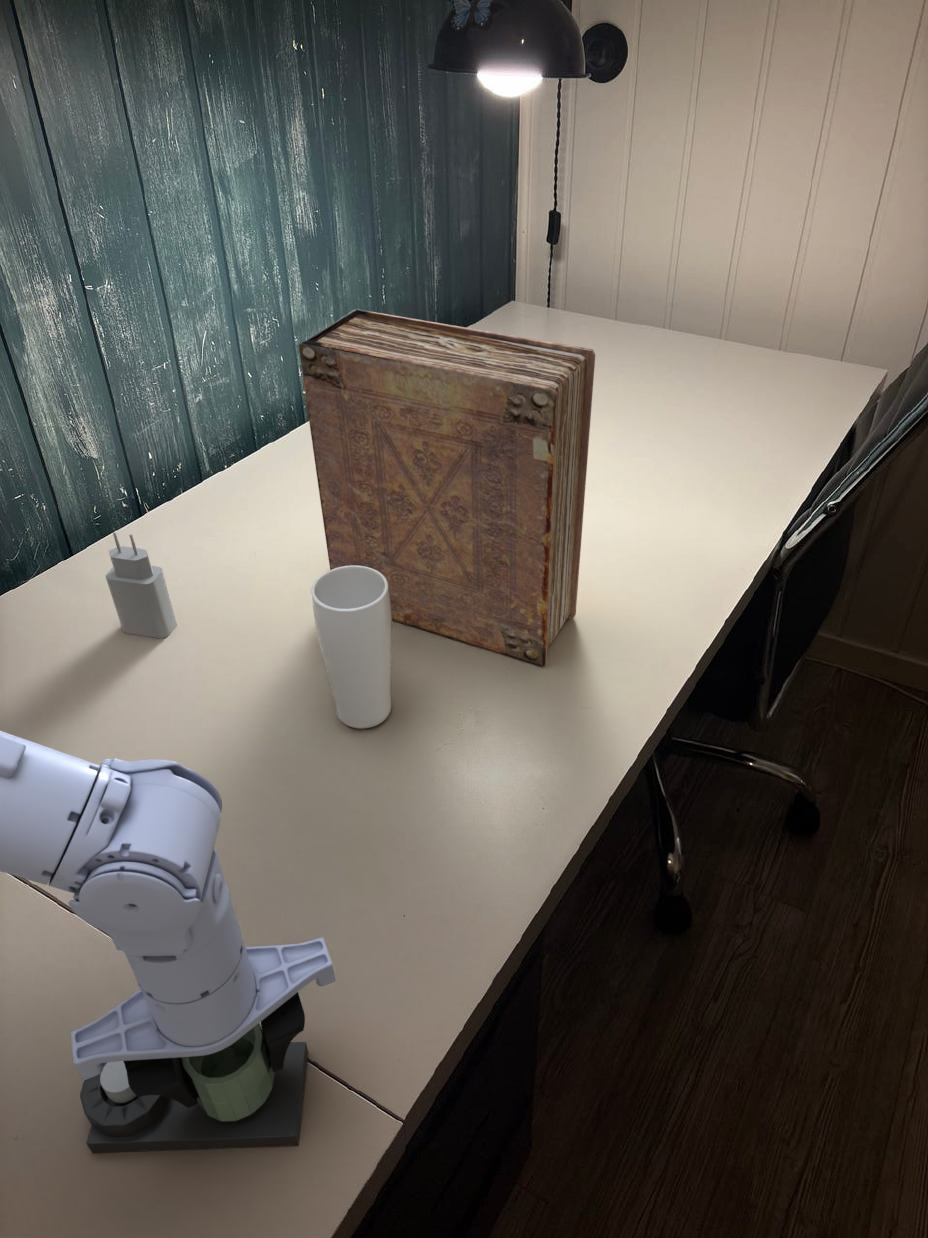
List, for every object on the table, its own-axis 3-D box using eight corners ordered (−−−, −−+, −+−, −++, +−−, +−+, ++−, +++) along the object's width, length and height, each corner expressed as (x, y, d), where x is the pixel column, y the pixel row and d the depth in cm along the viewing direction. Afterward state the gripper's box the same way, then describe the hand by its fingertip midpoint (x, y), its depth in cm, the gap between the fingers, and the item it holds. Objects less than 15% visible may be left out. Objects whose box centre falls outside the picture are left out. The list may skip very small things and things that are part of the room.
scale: (81, 1154, 58) (68, 1133, 56) (107, 1058, 62) (96, 1036, 60) (298, 1146, 58) (292, 1125, 56) (308, 1051, 62) (303, 1029, 61)
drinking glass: (404, 689, 91) (394, 565, 81) (393, 739, 85) (382, 612, 76) (336, 685, 91) (319, 562, 82) (322, 735, 86) (301, 609, 76)
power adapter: (134, 614, 101) (106, 522, 93) (179, 621, 100) (154, 528, 92) (119, 632, 98) (89, 538, 91) (165, 639, 97) (139, 545, 90)
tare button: (101, 1104, 57) (95, 1093, 56) (112, 1066, 59) (105, 1054, 58) (140, 1103, 57) (134, 1092, 56) (149, 1064, 59) (143, 1053, 58)
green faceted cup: (207, 1138, 56) (188, 1097, 53) (192, 1066, 60) (174, 1024, 56) (283, 1105, 58) (270, 1064, 54) (265, 1037, 61) (251, 994, 58)
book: (577, 617, 99) (598, 349, 80) (544, 669, 93) (558, 391, 74) (376, 559, 108) (352, 307, 89) (333, 602, 102) (298, 340, 83)
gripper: (300, 853, 54) (325, 976, 63) (42, 942, 50) (107, 1061, 59) (335, 951, 49) (357, 1070, 58) (51, 1060, 45) (121, 1172, 53)
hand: (233, 1073), depth 58 cm, fingers closed on green faceted cup, 5 cm apart
